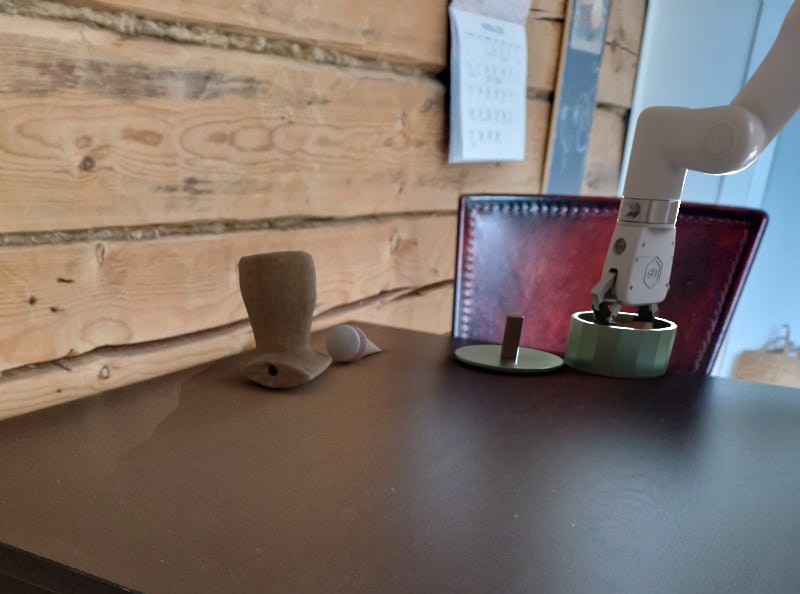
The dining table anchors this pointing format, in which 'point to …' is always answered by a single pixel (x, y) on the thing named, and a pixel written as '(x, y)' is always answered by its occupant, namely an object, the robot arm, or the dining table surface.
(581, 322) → the pan
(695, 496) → the dining table surface
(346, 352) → the ice cream cone
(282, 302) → the brown flared upright piece
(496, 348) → the lid
